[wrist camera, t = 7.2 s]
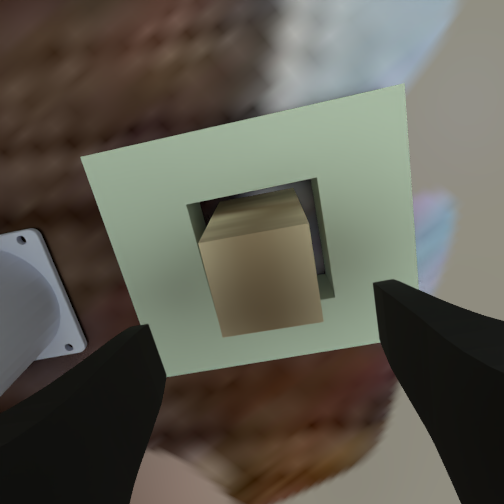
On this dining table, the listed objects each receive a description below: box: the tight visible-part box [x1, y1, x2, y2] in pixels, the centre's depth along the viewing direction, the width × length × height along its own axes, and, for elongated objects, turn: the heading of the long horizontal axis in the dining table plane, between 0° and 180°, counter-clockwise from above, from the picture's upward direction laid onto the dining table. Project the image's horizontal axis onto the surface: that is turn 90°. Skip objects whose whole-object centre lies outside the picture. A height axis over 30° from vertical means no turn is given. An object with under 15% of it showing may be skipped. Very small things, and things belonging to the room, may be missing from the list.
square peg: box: [198, 188, 324, 338], centre depth 17 cm, size 4×4×7 cm
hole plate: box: [80, 84, 419, 377], centre depth 19 cm, size 14×12×3 cm
